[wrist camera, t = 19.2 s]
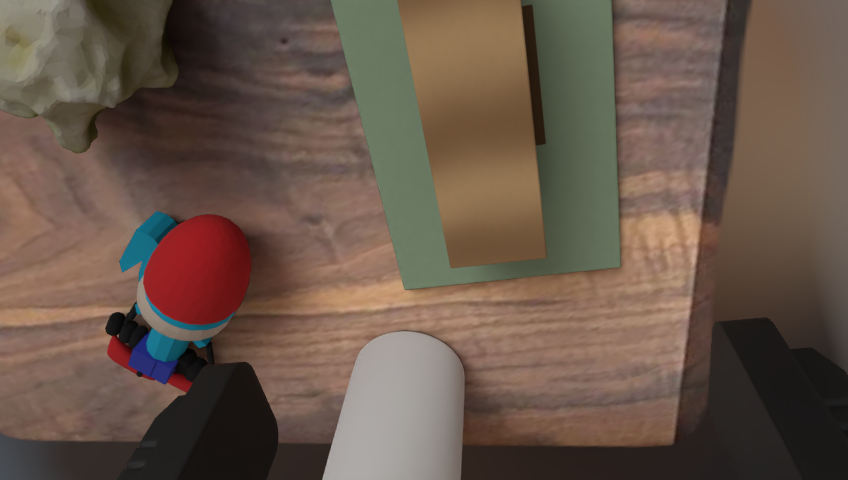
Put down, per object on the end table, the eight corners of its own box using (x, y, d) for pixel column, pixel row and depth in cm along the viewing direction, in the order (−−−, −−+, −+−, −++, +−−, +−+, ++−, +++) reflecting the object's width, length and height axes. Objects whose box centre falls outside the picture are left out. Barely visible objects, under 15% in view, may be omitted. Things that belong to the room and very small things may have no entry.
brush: (405, -55, 23) (388, -42, 19) (509, -76, 22) (514, -68, 18) (455, 217, 29) (450, 269, 25) (539, 207, 28) (547, 258, 24)
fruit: (109, -163, 24) (15, -181, 17) (242, 53, 28) (211, 107, 21) (-79, -54, 25) (-239, -30, 18) (80, 136, 29) (1, 213, 23)
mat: (294, -157, 22) (289, -158, 21) (600, -234, 20) (603, -238, 20) (405, 284, 32) (404, 290, 31) (618, 261, 30) (621, 268, 29)
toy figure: (226, 379, 39) (309, 236, 29) (183, 443, 35) (263, 302, 26) (121, 320, 38) (172, 153, 29) (65, 379, 34) (104, 209, 25)
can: (365, 409, 37) (318, 611, 27) (346, 327, 34) (285, 522, 23) (469, 408, 36) (462, 616, 26) (460, 324, 33) (448, 524, 23)
